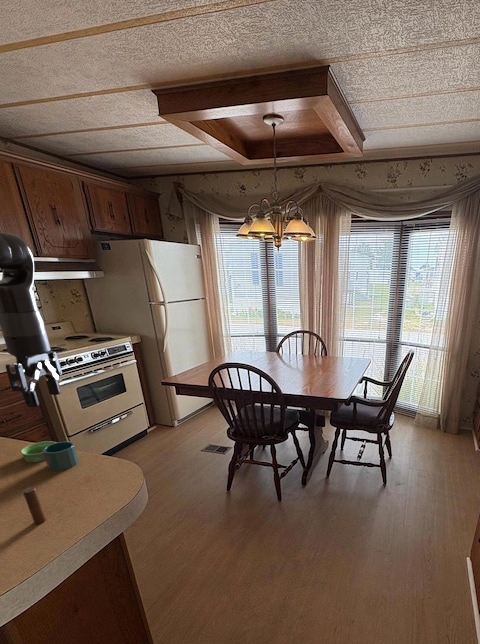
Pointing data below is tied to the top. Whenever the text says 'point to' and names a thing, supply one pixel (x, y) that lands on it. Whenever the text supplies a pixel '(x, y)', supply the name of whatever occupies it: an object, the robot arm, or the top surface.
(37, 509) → the brown cylinder rod
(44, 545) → the top surface
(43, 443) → the ramekin
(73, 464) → the cup
